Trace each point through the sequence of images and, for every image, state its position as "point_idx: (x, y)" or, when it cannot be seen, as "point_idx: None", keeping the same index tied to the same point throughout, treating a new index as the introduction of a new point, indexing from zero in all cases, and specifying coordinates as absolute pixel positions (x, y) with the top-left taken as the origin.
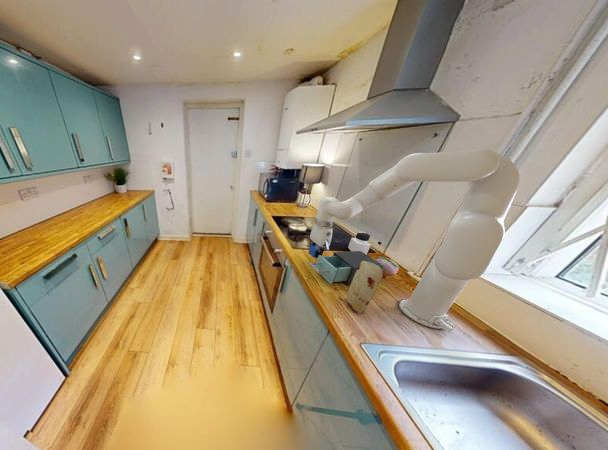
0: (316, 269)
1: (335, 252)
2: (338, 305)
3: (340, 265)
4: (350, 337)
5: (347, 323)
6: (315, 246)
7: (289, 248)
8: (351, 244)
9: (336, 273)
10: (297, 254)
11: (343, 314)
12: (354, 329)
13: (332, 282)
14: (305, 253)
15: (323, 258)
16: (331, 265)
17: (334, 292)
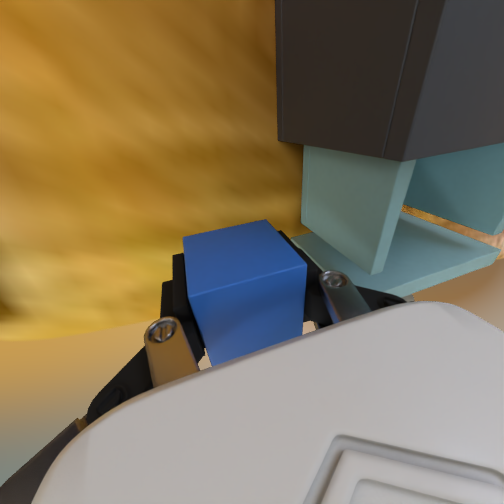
0: None
1: (414, 142)
2: (451, 230)
3: None
4: (498, 246)
5: (485, 235)
6: (228, 331)
7: (31, 336)
8: None
9: (450, 218)
10: (120, 297)
11: (471, 232)
12: None
13: (405, 214)
14: (75, 240)
15: (396, 293)
16: (465, 269)
17: (418, 216)
